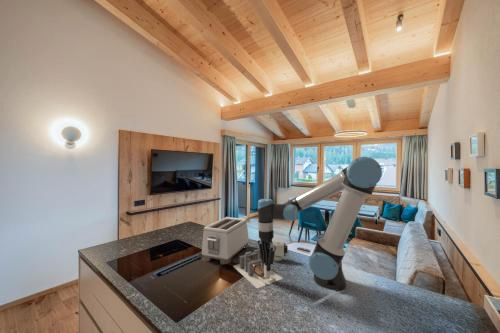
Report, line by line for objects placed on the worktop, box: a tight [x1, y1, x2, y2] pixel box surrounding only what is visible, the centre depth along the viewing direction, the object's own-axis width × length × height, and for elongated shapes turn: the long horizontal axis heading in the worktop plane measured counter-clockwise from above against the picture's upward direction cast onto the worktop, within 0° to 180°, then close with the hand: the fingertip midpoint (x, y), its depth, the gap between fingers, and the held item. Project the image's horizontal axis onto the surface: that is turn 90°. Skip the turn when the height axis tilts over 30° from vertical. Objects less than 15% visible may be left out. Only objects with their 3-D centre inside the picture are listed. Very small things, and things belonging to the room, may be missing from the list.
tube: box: [247, 257, 264, 277], centre depth 116 cm, size 18×4×4 cm, turn 31°
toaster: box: [201, 216, 250, 265], centre depth 140 cm, size 19×34×21 cm, turn 156°
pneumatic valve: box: [272, 241, 289, 262], centre depth 127 cm, size 6×12×12 cm, turn 78°
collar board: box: [232, 249, 284, 289], centre depth 113 cm, size 26×16×11 cm, turn 31°
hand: (267, 276), depth 105 cm, fingers closed
